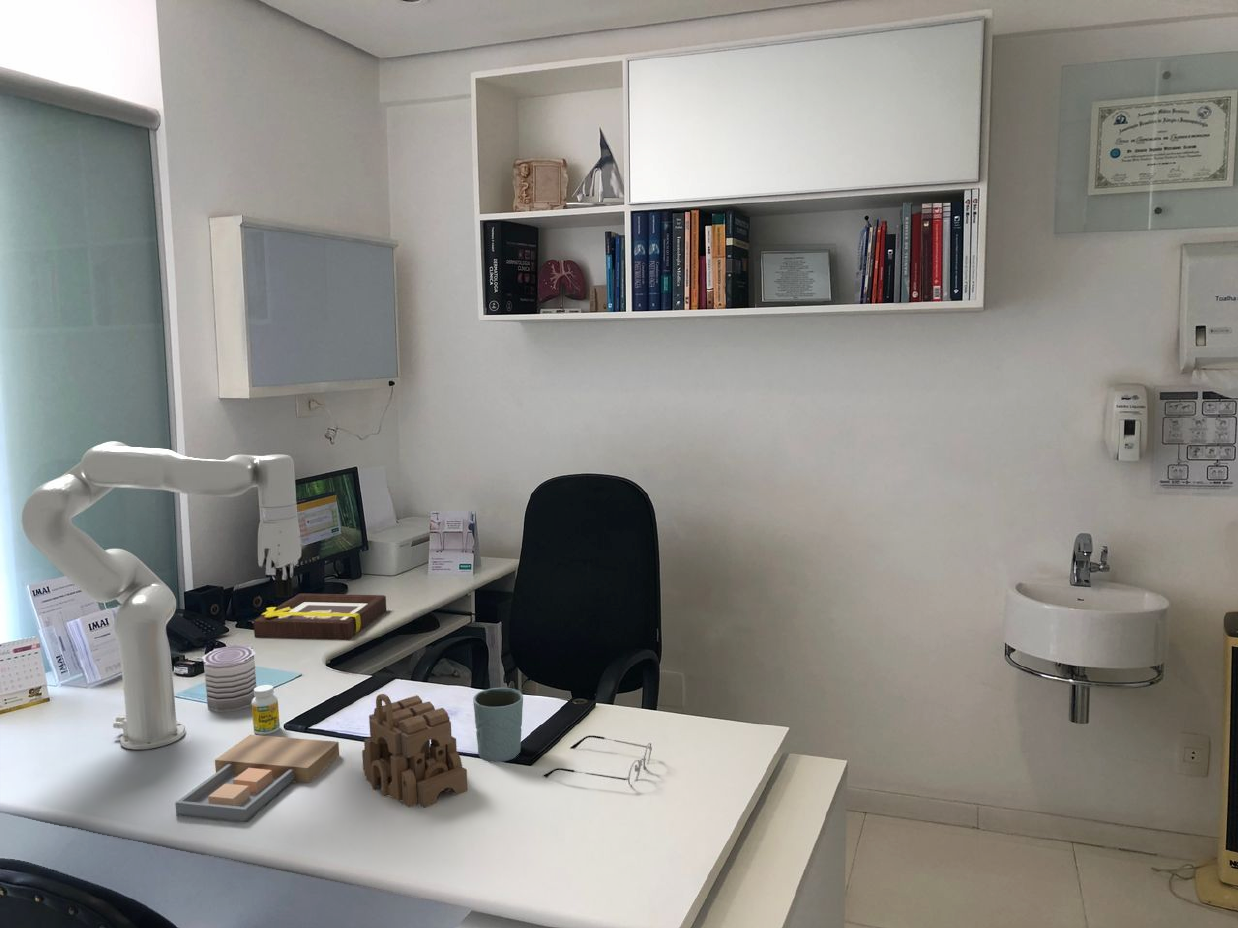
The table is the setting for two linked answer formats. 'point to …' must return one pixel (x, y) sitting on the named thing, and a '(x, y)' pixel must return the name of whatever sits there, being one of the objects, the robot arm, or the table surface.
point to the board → (280, 756)
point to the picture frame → (320, 616)
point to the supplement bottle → (265, 710)
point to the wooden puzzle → (412, 752)
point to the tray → (199, 805)
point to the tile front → (230, 795)
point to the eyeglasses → (607, 775)
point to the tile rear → (254, 779)
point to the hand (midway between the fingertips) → (284, 596)
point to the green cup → (498, 723)
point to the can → (230, 678)
